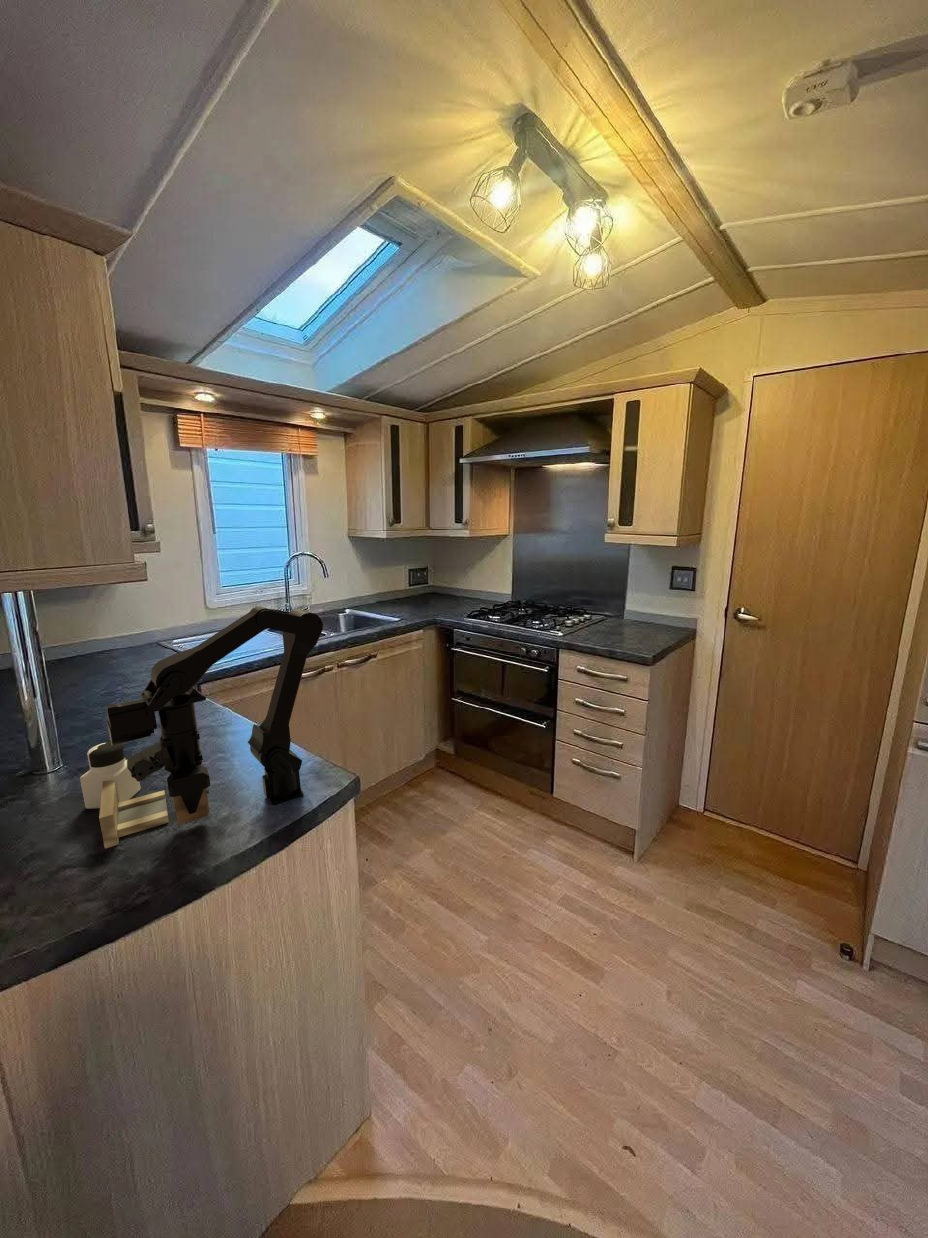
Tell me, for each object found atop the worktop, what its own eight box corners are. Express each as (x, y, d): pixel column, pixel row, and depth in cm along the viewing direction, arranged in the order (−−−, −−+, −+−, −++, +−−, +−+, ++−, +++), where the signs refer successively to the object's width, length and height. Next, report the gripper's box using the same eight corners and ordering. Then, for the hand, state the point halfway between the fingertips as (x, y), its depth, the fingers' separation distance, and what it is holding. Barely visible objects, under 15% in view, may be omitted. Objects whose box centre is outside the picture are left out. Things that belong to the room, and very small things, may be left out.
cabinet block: (209, 802, 98) (205, 774, 97) (212, 814, 94) (208, 785, 93) (175, 812, 95) (171, 783, 94) (177, 825, 91) (173, 795, 90)
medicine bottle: (141, 789, 109) (133, 737, 107) (120, 808, 102) (111, 753, 100) (108, 790, 109) (98, 739, 106) (84, 809, 102) (74, 754, 99)
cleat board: (164, 791, 108) (160, 765, 107) (169, 828, 95) (165, 800, 93) (107, 806, 102) (103, 780, 101) (104, 848, 89) (99, 818, 88)
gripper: (126, 722, 94) (139, 797, 98) (125, 760, 79) (141, 849, 82) (193, 708, 100) (203, 780, 103) (204, 742, 85) (216, 825, 88)
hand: (190, 806), depth 94 cm, fingers closed on cabinet block, 5 cm apart
